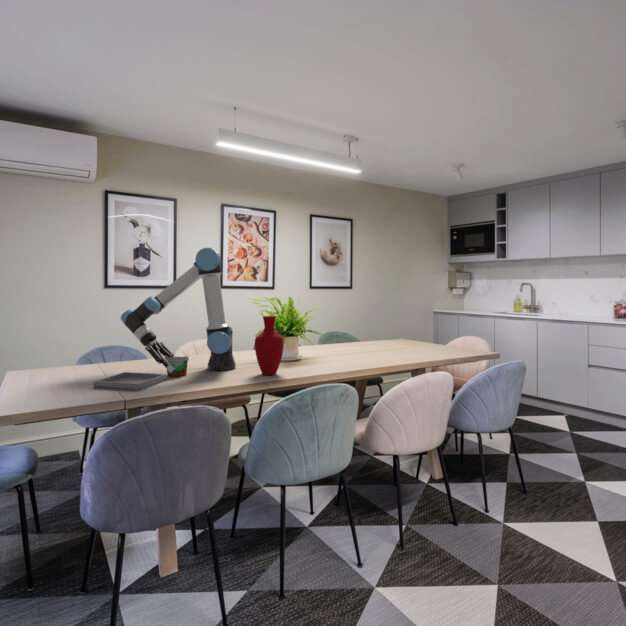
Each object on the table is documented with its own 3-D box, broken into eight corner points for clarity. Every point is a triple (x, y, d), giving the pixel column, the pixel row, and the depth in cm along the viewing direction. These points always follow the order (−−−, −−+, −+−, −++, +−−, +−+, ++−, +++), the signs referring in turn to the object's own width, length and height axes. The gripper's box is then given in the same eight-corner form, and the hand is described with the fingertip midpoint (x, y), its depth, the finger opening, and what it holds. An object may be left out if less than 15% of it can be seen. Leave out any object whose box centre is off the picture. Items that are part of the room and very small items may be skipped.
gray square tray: (166, 380, 210) (166, 374, 210) (139, 391, 188) (139, 384, 188) (124, 378, 214) (124, 372, 214) (93, 388, 193) (93, 381, 192)
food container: (160, 377, 218) (159, 356, 217) (165, 374, 224) (165, 355, 223) (183, 378, 216) (183, 357, 216) (189, 375, 222) (189, 355, 222)
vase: (272, 378, 217) (273, 317, 216) (248, 375, 225) (248, 316, 223) (288, 373, 230) (289, 316, 229) (265, 370, 238) (265, 315, 236)
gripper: (151, 338, 232) (180, 371, 230) (129, 343, 213) (161, 378, 211) (160, 329, 231) (189, 361, 228) (139, 332, 212) (171, 368, 210)
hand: (175, 369), depth 220 cm, fingers closed on food container, 6 cm apart
